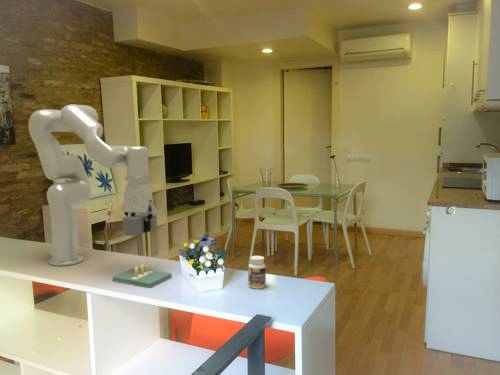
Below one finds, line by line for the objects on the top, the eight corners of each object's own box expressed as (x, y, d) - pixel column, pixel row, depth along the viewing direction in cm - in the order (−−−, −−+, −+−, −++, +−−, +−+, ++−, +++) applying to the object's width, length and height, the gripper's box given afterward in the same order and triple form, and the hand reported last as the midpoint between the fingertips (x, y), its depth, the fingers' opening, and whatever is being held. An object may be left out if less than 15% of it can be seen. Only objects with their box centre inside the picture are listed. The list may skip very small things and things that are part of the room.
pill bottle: (252, 290, 144) (253, 260, 143) (245, 284, 149) (245, 256, 148) (268, 287, 147) (268, 258, 146) (260, 282, 152) (260, 254, 151)
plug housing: (136, 236, 153) (135, 219, 152) (122, 234, 155) (122, 218, 155) (156, 229, 164) (156, 213, 163) (144, 228, 166) (143, 212, 166)
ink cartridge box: (202, 277, 157) (202, 237, 155) (189, 275, 159) (188, 235, 158) (216, 269, 166) (216, 231, 164) (203, 267, 168) (203, 230, 167)
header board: (112, 281, 153) (112, 266, 152) (135, 271, 163) (135, 257, 163) (150, 288, 146) (149, 272, 145) (171, 277, 157) (171, 262, 156)
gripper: (111, 181, 158) (114, 230, 160) (151, 182, 151) (153, 234, 153) (125, 179, 164) (127, 226, 167) (164, 180, 158) (166, 230, 160)
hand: (140, 230), depth 160 cm, fingers closed on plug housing, 5 cm apart
